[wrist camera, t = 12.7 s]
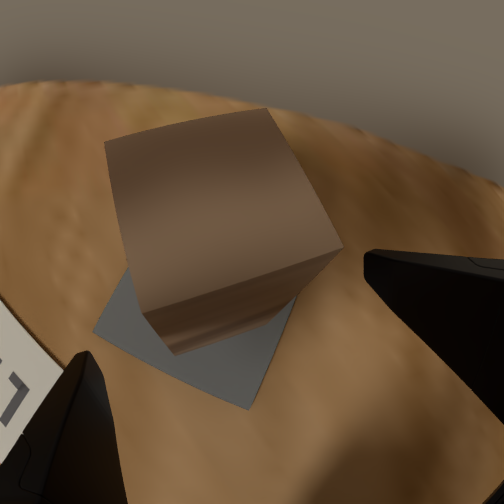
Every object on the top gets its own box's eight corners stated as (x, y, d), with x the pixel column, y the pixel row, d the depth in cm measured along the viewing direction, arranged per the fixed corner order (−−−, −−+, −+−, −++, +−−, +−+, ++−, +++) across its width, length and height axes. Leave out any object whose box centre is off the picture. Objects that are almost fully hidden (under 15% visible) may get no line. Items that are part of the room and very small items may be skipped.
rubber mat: (306, 265, 21) (309, 261, 21) (247, 409, 17) (248, 410, 17) (171, 203, 22) (171, 198, 21) (95, 333, 17) (92, 331, 17)
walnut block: (266, 324, 19) (344, 246, 9) (174, 356, 17) (141, 313, 7) (232, 241, 21) (266, 108, 11) (146, 267, 19) (104, 142, 9)
